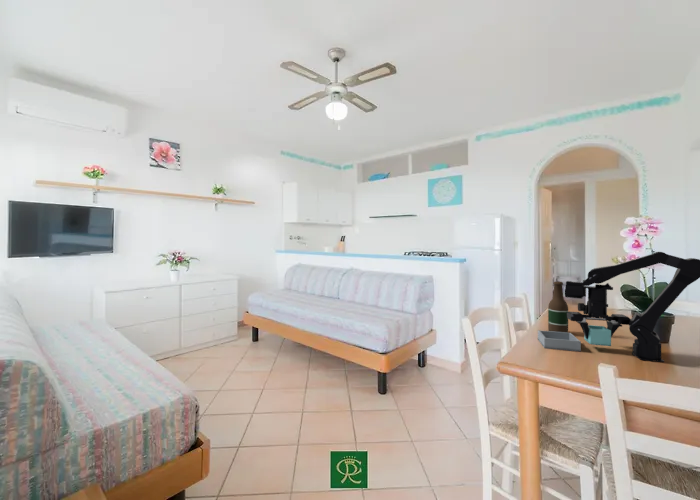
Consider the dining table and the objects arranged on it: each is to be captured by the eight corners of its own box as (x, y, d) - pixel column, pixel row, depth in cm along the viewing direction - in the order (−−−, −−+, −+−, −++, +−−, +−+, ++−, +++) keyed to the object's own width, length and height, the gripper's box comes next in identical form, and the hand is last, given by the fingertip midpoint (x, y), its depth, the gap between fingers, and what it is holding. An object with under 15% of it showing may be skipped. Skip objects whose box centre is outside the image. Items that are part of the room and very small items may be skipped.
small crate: (603, 341, 119) (603, 326, 119) (611, 346, 113) (611, 330, 113) (584, 339, 121) (584, 324, 121) (590, 344, 115) (590, 329, 115)
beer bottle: (544, 331, 142) (544, 281, 142) (556, 329, 145) (556, 280, 144) (560, 336, 135) (560, 283, 134) (572, 334, 137) (572, 282, 137)
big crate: (570, 342, 126) (570, 332, 126) (580, 351, 115) (580, 341, 115) (537, 339, 131) (537, 330, 131) (544, 348, 120) (544, 338, 119)
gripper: (617, 297, 121) (617, 335, 121) (562, 295, 128) (562, 331, 128) (631, 303, 111) (631, 344, 111) (571, 300, 117) (571, 339, 118)
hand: (597, 339), depth 117 cm, fingers closed on small crate, 6 cm apart
